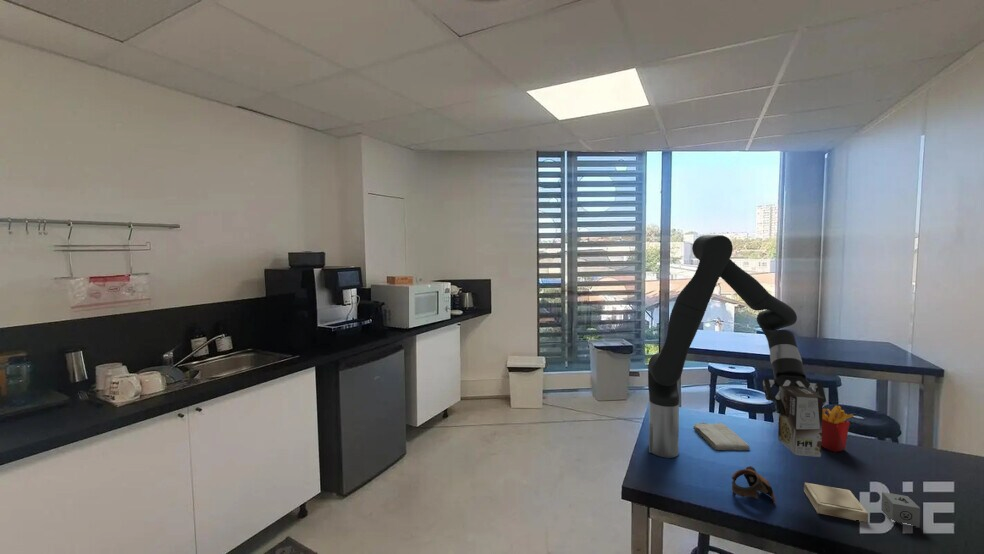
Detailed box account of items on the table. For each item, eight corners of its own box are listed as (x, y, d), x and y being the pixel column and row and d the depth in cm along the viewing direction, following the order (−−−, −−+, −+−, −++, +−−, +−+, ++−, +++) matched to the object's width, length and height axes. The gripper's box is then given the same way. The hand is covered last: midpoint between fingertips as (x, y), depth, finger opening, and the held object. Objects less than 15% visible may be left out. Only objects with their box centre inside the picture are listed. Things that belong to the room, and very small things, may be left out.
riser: (817, 513, 100) (817, 503, 100) (803, 490, 110) (804, 481, 109) (867, 522, 96) (868, 512, 96) (849, 499, 106) (849, 489, 105)
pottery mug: (782, 514, 101) (768, 488, 100) (743, 518, 106) (729, 494, 105) (771, 478, 112) (758, 455, 111) (736, 484, 116) (723, 461, 115)
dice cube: (919, 528, 94) (920, 508, 94) (892, 523, 96) (893, 503, 96) (906, 515, 99) (907, 496, 99) (881, 510, 101) (882, 491, 101)
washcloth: (722, 428, 150) (722, 420, 150) (751, 452, 132) (751, 443, 132) (690, 428, 150) (690, 420, 150) (716, 452, 132) (716, 443, 132)
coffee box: (822, 457, 102) (824, 397, 101) (794, 455, 104) (796, 396, 102) (802, 440, 111) (804, 385, 110) (776, 439, 113) (778, 384, 111)
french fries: (813, 444, 135) (814, 402, 134) (830, 441, 137) (832, 399, 136) (842, 457, 127) (844, 412, 126) (860, 453, 129) (862, 408, 128)
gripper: (760, 355, 117) (770, 407, 107) (820, 358, 111) (836, 414, 101) (756, 367, 122) (765, 418, 112) (812, 371, 117) (827, 425, 107)
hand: (799, 416), depth 107 cm, fingers closed on coffee box, 7 cm apart
